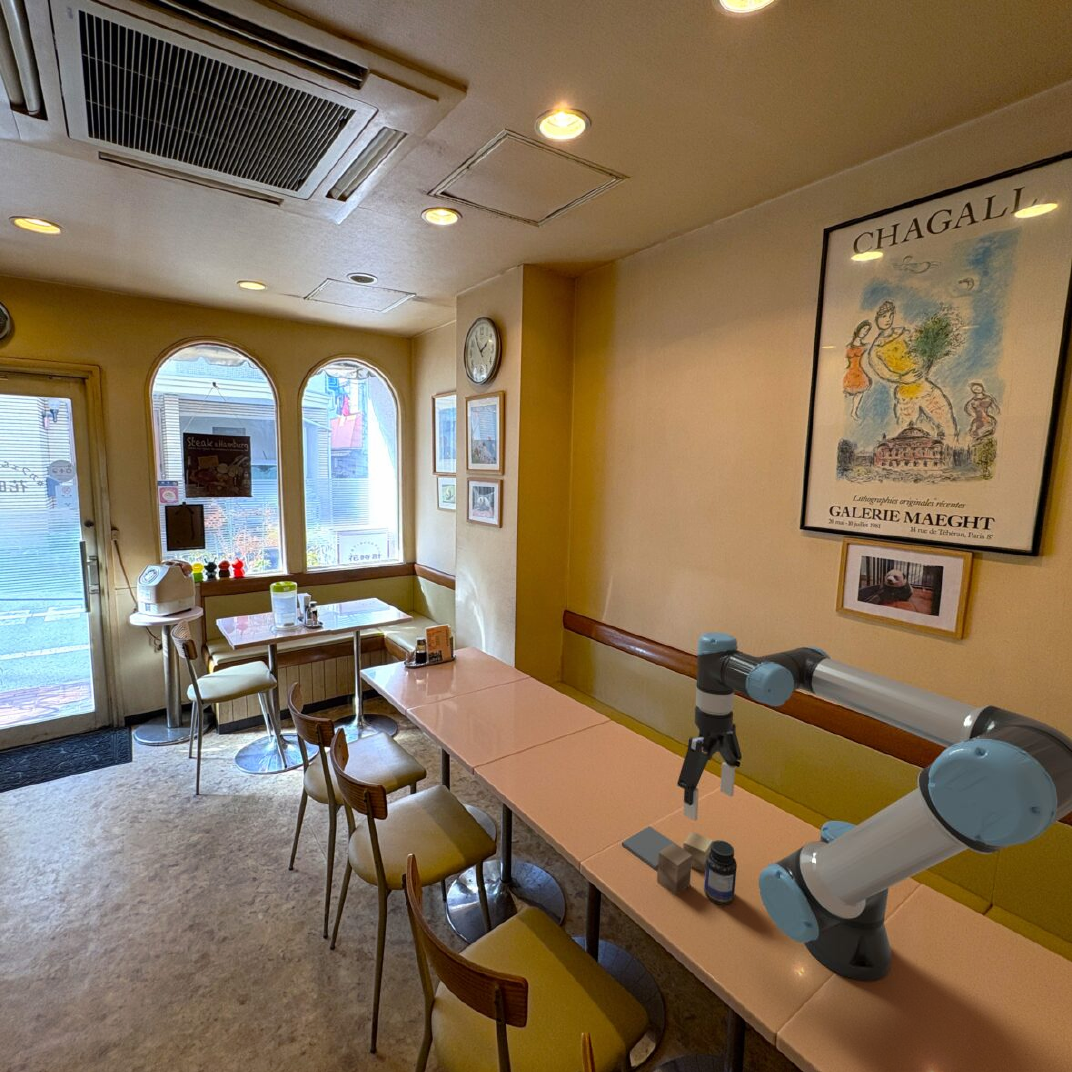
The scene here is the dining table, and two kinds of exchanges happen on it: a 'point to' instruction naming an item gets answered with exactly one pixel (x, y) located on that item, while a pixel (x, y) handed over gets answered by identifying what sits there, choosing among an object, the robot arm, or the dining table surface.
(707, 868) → the pill bottle
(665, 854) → the walnut block
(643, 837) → the slate coaster
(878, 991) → the dining table surface
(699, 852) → the oak block
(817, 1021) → the dining table surface
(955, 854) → the robot arm
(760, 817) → the dining table surface
